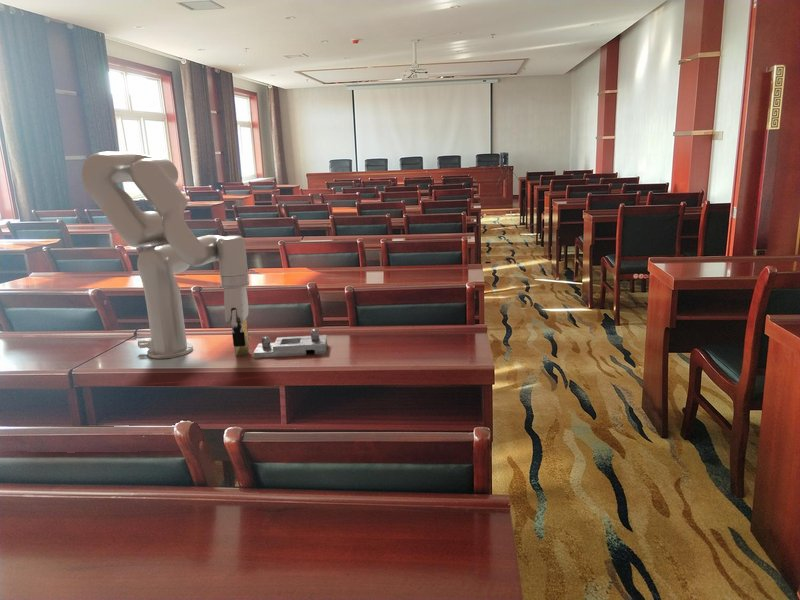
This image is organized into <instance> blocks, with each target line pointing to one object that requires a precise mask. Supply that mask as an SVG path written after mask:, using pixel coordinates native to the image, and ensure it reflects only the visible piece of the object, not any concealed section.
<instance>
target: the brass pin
mask: <svg viewBox="0 0 800 600" xmlns="http://www.w3.org/2000/svg"><path fill="white" fill-rule="evenodd" d="M246 321H247V318H246V319H245V320H244V321H243V322H242V323H243V332H244V335H245V346H238V347H234V346H233V347H234V354H235V355H234V356H236V357H245V356H248V355H250V353H251V352H250V344H249V340H248V337H249V331H248V332H247V327H248V321H247V322H246ZM237 322H240V320H237ZM238 325H239V326H240V324H238Z"/></svg>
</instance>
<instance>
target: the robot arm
mask: <svg viewBox="0 0 800 600" xmlns="http://www.w3.org/2000/svg"><path fill="white" fill-rule="evenodd" d="M81 167H82V168H81V180H82V184H83V186H84V189H85V191H86V192H87V194H88V195H89V197H90V199H92V201H93V202H94V204H96V206H98V207H99V209H100V210H101V211H102V213H103V214H104V216H105V217H106V219H107V220H108V221H109V223H110V224H111V226H113V228H114V230H115V231H116V232H117V234H118V235H119V236H120V238H121V239H122V240H123V241H124V243H125V244H126V245H128V246H129V247H132V248H141V247H146V246H148V247H147V248H145V249H143V250H142V251H141V252H140V253H139V255H138V257H137V260H136V262H137V263H136V266H137V270H138V271H137V272H138V274H139V276H140V279H141V282H142V285H143V290H144V291H143V292H144V298H145V303H146V310H147V317H148V325H149V332H150V338H148V339H139V340H137V346H138V348H139V349H145V348H146V349H148V350H147V357H149V358H152V359H156V360H157V359H158V360H160V359H161V360H162V359H163V360H164V359H173V358H177V357H182V356H185V355H187V354H189V353H192V351H193V350H194V345H193V344H192V343H189V342H187V335H186V327H185V317H184V310H183V309H184V308H183V302H182V296H181V295H182V294H181V290H180V287H179V286H180V285H179V284H178V282H177V280H176V277H175V275H178V274H181V273H183V272H185V271H186V270H188V269H189V268H190V266H192V267H201V266H204V265H207V264H210V263H215V262H218V267H219V276H220V277H219V278H220V285H221V288H223V300H224V301H223V302H224V303H223V304H224V306H223V307H224V318H225V319H224V320H225V323H226V324H229V323H230V322H231V332H232V333H231V335H232V342H233V343H232V344H233V347H238V346H245V335H244V332H243V323H242V322H243V321H244V320H245V319H246V322H247V323H248V321H247V318H248V316H249V301H248V300H249V299H248V291H247V287H248V286H249V285H250V279H249V267H248V259H247V258H248V257H247V248H246V246H247V245H246V240H245V238H244V237H243V236H241V235H226V236H222V235H218V234H207V235H202V236H199V237H198V236H195V234H194V233H193V231H192V230H191V229H190V227H189V226H188V224H187V222H186V220H185V214H184V213H185V209H186V208H187V206H188V198H186V196H185V195H184V194H183V192H182V191H181V189H179V187H178V186H177V184H176V183H177V182H178V179H179V172H178V168H177V167H176V165H175V164H174V163H173V162H172V161H171V160H169V159H167V158H163V157H157V156H152V155H148V154H142V153H137V152H133V151H100V152H94V153H92V154H91V155H89V156H88V157H86V159H85V160H84V161H83V164H82V166H81ZM130 182H131V183H134V184H135V186H136V187H137V188H138V190H139V191H140V192H141V194H143V196H144V197H145V198H146V200H147V201H148V202H149V204H150V205H151V206H152V207H153V209H154V210H148V211H143V210H142V209H140V207H139V205H137V204H136V203H135V201H134V200H133V198H132V197H131V196H130V194H129V193H127V192H126V191H125V190H124V189H123V188H121V187H120V186H119V185H118V184H117V183H130ZM149 245H150V246H149ZM237 320H240V322H237ZM238 324H240V326H239V325H238ZM247 332H248V333H249V330H248V326H247ZM249 339H250V338H249V336H248V341H249Z"/></svg>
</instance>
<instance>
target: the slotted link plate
mask: <svg viewBox="0 0 800 600" xmlns="http://www.w3.org/2000/svg"><path fill="white" fill-rule="evenodd" d="M274 343H275V342H271V337H270V336H268V335H265V336H262V337H261V343H258V344H257V346H256V348H255V349H254V351H253V359H261V358H279V357H281V358H282V357H294V356H307V353H308V350H298V351H280V352H273V345H274ZM289 344H299V343H289Z"/></svg>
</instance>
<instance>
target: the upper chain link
mask: <svg viewBox="0 0 800 600" xmlns="http://www.w3.org/2000/svg"><path fill="white" fill-rule="evenodd" d="M309 331H310V335H302V336H301V335H299V336H281V337H276V339H275V341H274V342H273V343H274V345H273V352H280V351H298V350H307V351H311V350H312V351H314V355H326V354H327V348H328V336H327V334H322V335H321V334H320V329H319V328H312V329H310V330H309ZM289 343H299V344H289Z"/></svg>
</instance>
